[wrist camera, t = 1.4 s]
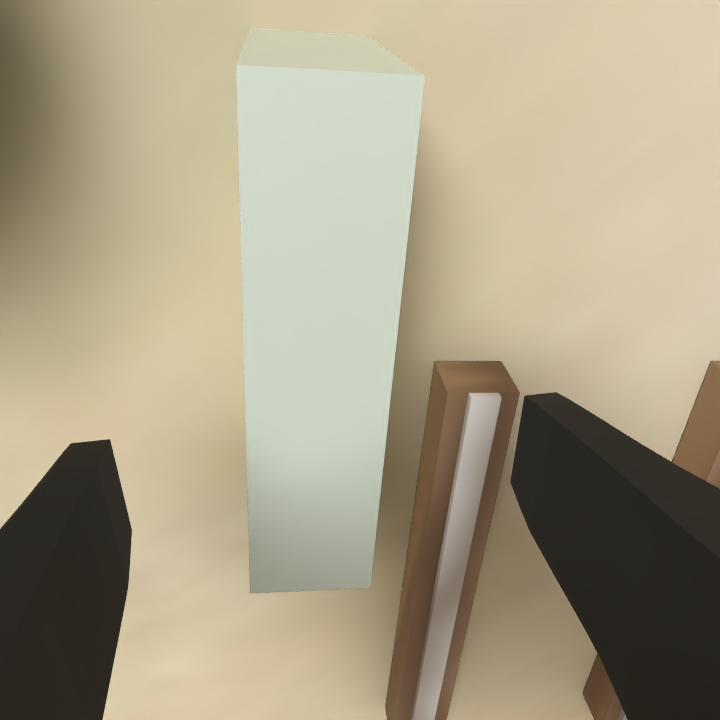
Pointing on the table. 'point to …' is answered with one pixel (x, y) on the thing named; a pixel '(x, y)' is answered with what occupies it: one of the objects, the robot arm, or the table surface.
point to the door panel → (320, 293)
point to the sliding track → (483, 528)
